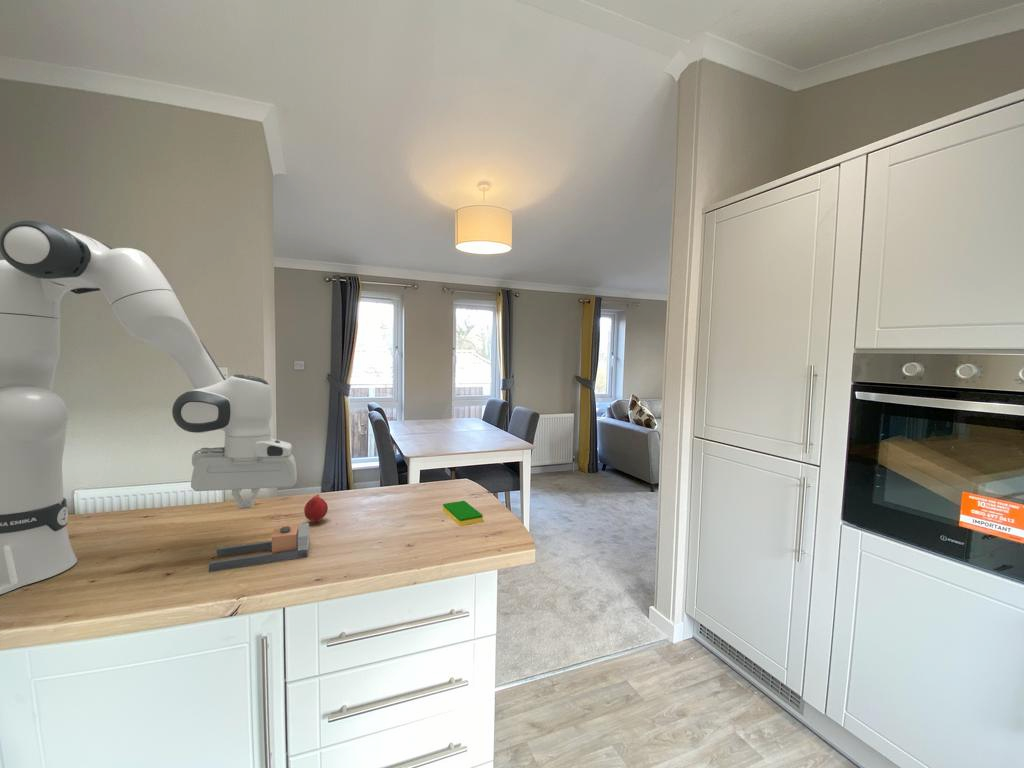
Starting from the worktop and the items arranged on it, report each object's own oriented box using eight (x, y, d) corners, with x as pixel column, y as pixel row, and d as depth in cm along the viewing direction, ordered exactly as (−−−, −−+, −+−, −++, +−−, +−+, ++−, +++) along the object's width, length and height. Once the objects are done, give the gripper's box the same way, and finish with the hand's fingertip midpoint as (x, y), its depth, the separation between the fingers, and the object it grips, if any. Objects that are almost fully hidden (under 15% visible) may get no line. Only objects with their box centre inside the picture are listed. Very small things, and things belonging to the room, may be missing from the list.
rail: (208, 572, 89) (208, 549, 89) (217, 555, 96) (217, 534, 96) (307, 556, 96) (307, 535, 96) (309, 542, 104) (308, 522, 103)
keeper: (272, 559, 95) (271, 533, 95) (274, 549, 99) (274, 525, 99) (296, 555, 97) (296, 530, 97) (298, 546, 101) (298, 522, 101)
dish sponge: (464, 507, 131) (464, 500, 131) (483, 523, 119) (483, 515, 119) (442, 511, 128) (442, 503, 128) (459, 527, 116) (459, 519, 115)
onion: (318, 527, 113) (318, 498, 112) (299, 525, 114) (299, 496, 113) (331, 519, 118) (331, 491, 118) (313, 517, 120) (313, 490, 119)
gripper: (187, 450, 88) (184, 515, 89) (296, 448, 96) (293, 509, 96) (197, 445, 94) (194, 506, 95) (299, 444, 102) (296, 501, 102)
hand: (245, 507), depth 95 cm, fingers closed
